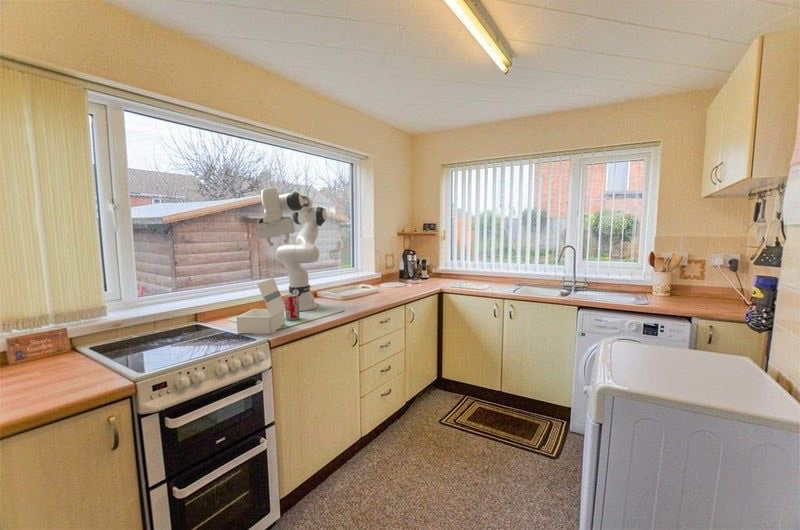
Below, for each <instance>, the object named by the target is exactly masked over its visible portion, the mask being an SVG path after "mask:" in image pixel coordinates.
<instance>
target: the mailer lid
mask: <svg viewBox="0 0 800 530" xmlns="http://www.w3.org/2000/svg"><path fill="white" fill-rule="evenodd" d="M256 285H257V287H258V289H259V291H260V294H261V295H262V296H261V297H262V299H263V300H264V301H263V302H264V303H265V306H266V309H268V311H269V314H270V316H273V315H274V314H276V313H278V312H279V311H281V310H283V309H284V310H285V308H286V307H285V301H284V300H283V297H282V295H281V293H280V291H279V289H278V285H277V283H276V281H275V278H270V279H267V280H264V281H261V282H259V283H257V284H256Z"/></svg>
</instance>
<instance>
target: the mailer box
mask: <svg viewBox="0 0 800 530" xmlns="http://www.w3.org/2000/svg"><path fill="white" fill-rule="evenodd" d="M236 324H237V325H236V327H237V333H238V332H241V333H253V334H252V335H272V334H273V333H275V332H276V331H277V329H278V328H279V329H280V328H282V327H283V326H284V324H285V309H283V310H281V311H279V312H278V313H276V314H274V315H273V316H270V314H269V311H268V309H267V308H251V309H250V310H248V311H246V312H244V313H241V314H240V315H238V316H236ZM282 325H283V326H282ZM281 326H282V327H281ZM279 329H278V330H279Z"/></svg>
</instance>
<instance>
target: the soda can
mask: <svg viewBox="0 0 800 530" xmlns="http://www.w3.org/2000/svg"><path fill="white" fill-rule="evenodd" d="M288 294H289V293H288ZM288 294H286V295H285V297H284V305H285V307H286V308H285V309H284V314H285V319H286V320H287V319H288V320H287V321H295V320H294V319H296V320H298V319H299V318H300V311H299V299H298V296H297V294H289V295H288Z"/></svg>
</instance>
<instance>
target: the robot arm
mask: <svg viewBox="0 0 800 530" xmlns="http://www.w3.org/2000/svg"><path fill="white" fill-rule="evenodd" d="M260 196H261V204H262V207H263V209H264V212H263V214H264V216H262V217H260V218H259V219H258V220H257V221H256V224H257V233H258V237H259V239H261V240H262V239H264V240H266V242H267V243H268V245H269V247H273V246H274V243H273V242H272V241H271V238H274V237H275V238H276V237H278V236H279V237H280V236H284V237H285V240H283V243H284V244H285V245H280V246H278V247H277V249H276V251H275V254H276V259H277V261H278V262H280V263H281V264H282V265H283V266H284V267H285V268H286V269H285V270H286V271H287V274H288V280H289V282H288V283H289V286H288V292H289V293H288V294H287V295H289V294H297V296H298V299H299V312H302V311H304V312H305V311H309V310H310V311H311V310H315V309H316V308H317V306H318V304H319V303H318V301H315V298H314V297H315V296H314V295H313V293H312V292H311V284H309V273H308V272H307V270H306V269H304V268H302V267H301V266H300V264H311V263H316V262H317V261H318V259H320V258H319V257H320V251H319V248H318V247H317V246H316V245H315V243H316V240H317V238H318V235H319V227H322V226H323V224H324V223H325V222H326V220H327V212H326V209H325V208H324V207H322V206H317V207H315V206H313V200H312V199H311V198H310V197H309V196H307V195H305V194H300V192H297V191H293V192H289V193H284V194H279V192H278V188H277V187H274V186H272V187H266V188H263V189H262V190H261V195H260ZM290 212H292V216H289V215H286V216H284V215H283V214H285V213H290ZM294 223H295V224H296V225H299V226H300V225H304V226H303V227H302V229H300V231H299V233H298V235H297V236H296V237H295V244H289V239H290V235H291V234H295V233H296V229H295V228H296V227H295V225H294Z"/></svg>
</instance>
